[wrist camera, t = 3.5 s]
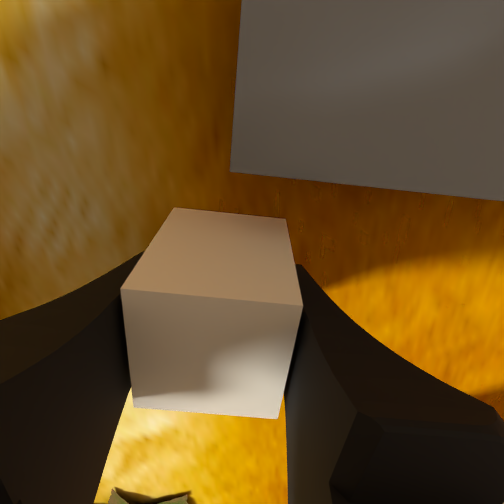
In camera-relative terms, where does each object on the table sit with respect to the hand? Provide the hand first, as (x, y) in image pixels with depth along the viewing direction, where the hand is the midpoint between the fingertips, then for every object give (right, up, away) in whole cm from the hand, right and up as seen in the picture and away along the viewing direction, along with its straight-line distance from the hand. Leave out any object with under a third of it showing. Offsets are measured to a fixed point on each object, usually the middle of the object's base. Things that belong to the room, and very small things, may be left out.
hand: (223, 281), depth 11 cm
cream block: (0, +1, +1) cm, 1 cm away
